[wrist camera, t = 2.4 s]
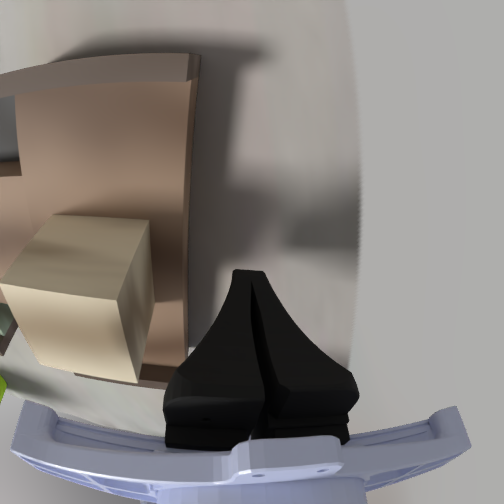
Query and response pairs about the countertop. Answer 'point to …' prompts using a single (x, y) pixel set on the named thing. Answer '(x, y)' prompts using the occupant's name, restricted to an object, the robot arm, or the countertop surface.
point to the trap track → (105, 171)
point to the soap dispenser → (2, 387)
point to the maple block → (85, 294)
